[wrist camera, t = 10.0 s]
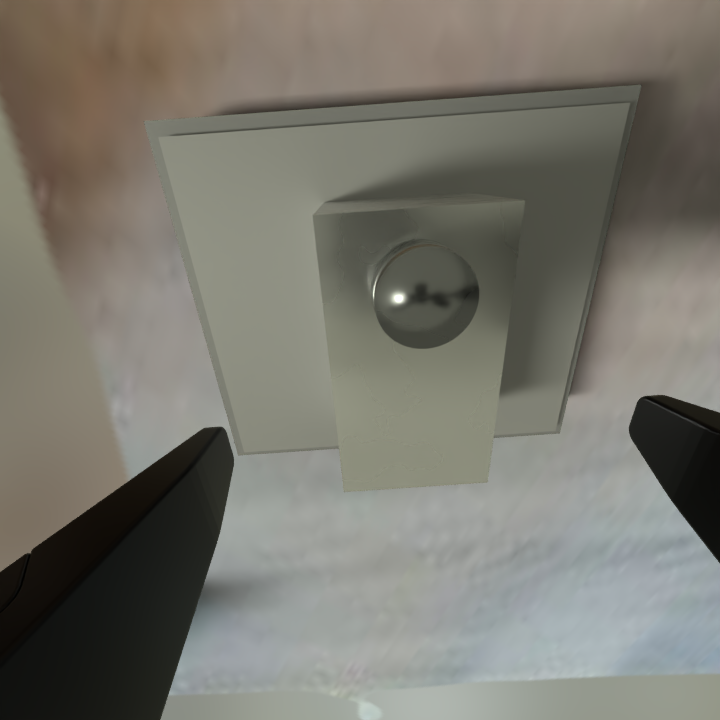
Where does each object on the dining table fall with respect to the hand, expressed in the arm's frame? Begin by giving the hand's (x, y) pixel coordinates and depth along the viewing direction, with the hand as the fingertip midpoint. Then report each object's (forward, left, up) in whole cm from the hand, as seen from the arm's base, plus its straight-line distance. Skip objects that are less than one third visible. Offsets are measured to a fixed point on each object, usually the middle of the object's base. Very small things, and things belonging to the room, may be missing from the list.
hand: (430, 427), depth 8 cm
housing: (0, 0, -7) cm, 7 cm away
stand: (0, 0, -10) cm, 10 cm away
